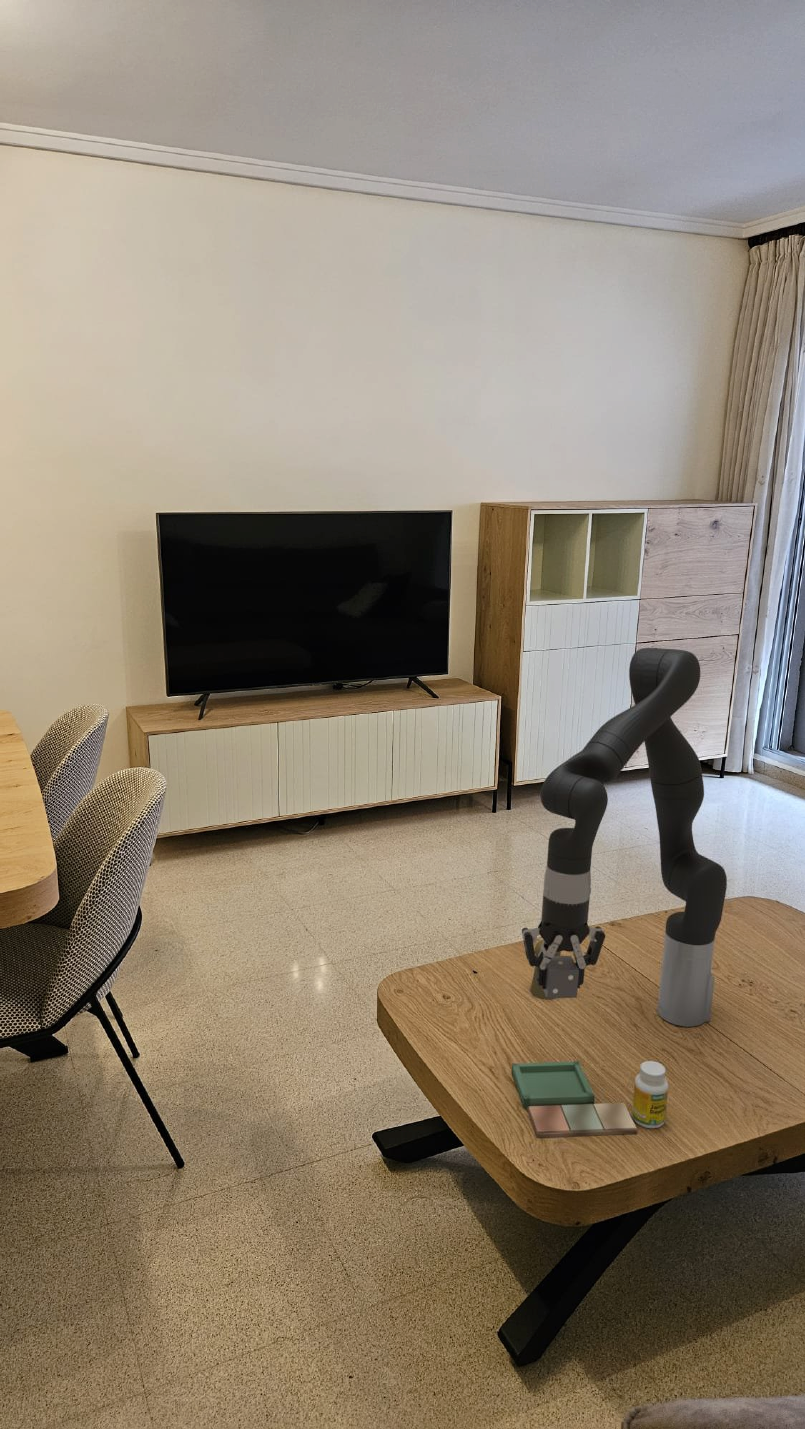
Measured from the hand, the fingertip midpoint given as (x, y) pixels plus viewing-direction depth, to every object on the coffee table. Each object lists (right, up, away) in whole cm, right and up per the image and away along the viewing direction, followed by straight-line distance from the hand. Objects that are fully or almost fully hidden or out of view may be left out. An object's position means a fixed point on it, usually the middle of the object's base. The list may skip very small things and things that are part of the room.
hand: (559, 985), depth 165 cm
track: (+3, -21, -4) cm, 22 cm away
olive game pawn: (+3, -11, +36) cm, 38 cm away
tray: (-1, -19, +5) cm, 20 cm away
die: (0, -1, 0) cm, 1 cm away
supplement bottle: (+14, -21, -2) cm, 26 cm away
